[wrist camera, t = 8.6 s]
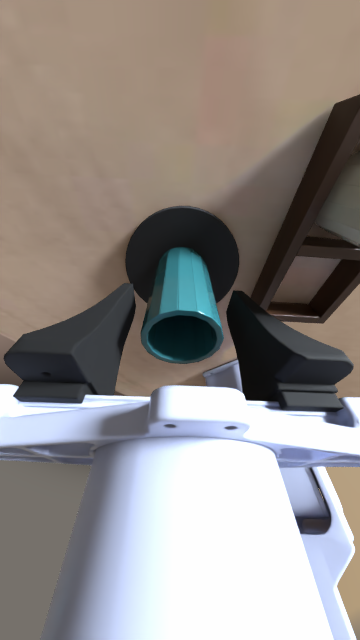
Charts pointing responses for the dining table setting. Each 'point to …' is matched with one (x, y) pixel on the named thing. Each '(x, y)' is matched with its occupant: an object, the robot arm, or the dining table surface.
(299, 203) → the holder
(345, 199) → the cream cup
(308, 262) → the dining table surface
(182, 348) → the teal cup
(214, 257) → the coaster
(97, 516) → the robot arm
